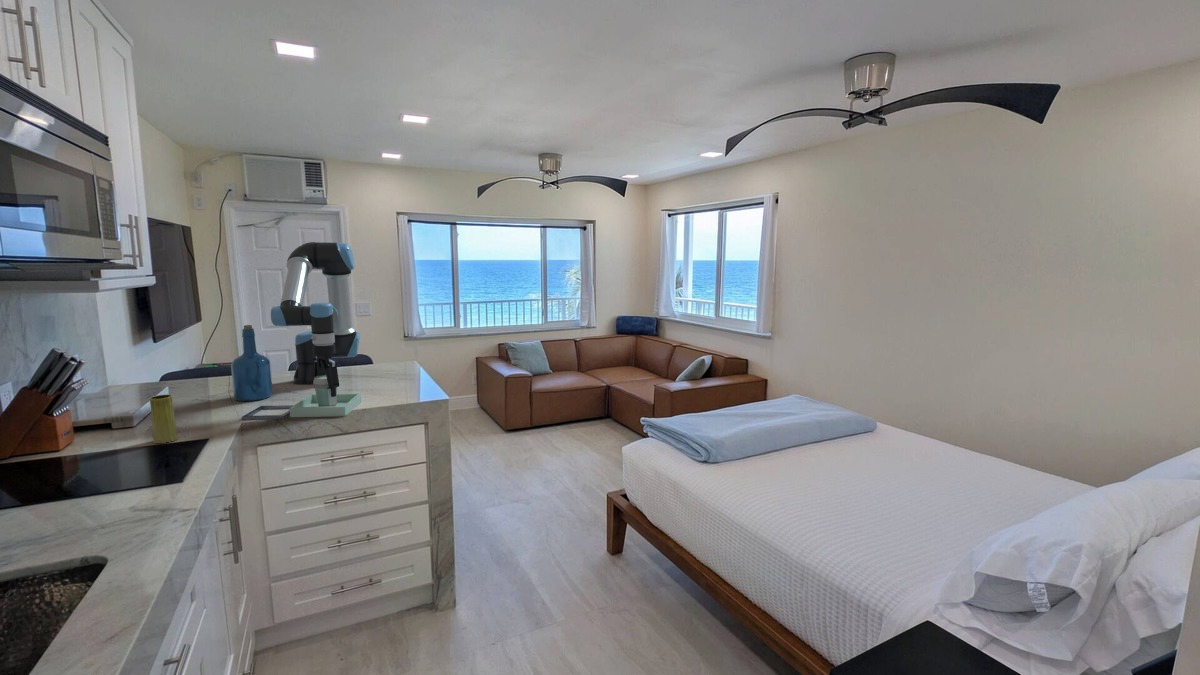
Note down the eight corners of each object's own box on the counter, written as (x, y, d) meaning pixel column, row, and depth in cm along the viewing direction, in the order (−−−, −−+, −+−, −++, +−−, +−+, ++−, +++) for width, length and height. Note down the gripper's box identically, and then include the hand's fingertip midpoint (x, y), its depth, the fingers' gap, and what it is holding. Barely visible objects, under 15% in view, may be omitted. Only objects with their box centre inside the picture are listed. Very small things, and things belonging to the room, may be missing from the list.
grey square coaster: (261, 408, 196) (260, 405, 196) (300, 407, 199) (299, 405, 198) (241, 419, 183) (241, 417, 183) (283, 418, 185) (283, 416, 185)
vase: (182, 439, 163) (177, 395, 161) (159, 445, 157) (154, 400, 155) (171, 436, 166) (166, 393, 163) (148, 442, 160) (143, 397, 158)
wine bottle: (273, 399, 209) (267, 326, 204) (233, 404, 201) (226, 328, 197) (272, 391, 220) (266, 322, 215) (234, 395, 212) (227, 324, 208)
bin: (311, 402, 205) (310, 394, 205) (361, 401, 208) (361, 393, 207) (290, 417, 187) (289, 408, 186) (345, 416, 189) (345, 406, 189)
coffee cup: (337, 402, 203) (335, 373, 201) (342, 408, 197) (340, 377, 195) (312, 406, 198) (310, 376, 196) (317, 412, 191) (315, 380, 189)
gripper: (300, 342, 196) (304, 399, 200) (327, 348, 184) (330, 409, 188) (320, 339, 202) (324, 395, 206) (347, 346, 190) (350, 405, 194)
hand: (327, 402), depth 197 cm, fingers closed on coffee cup, 8 cm apart
